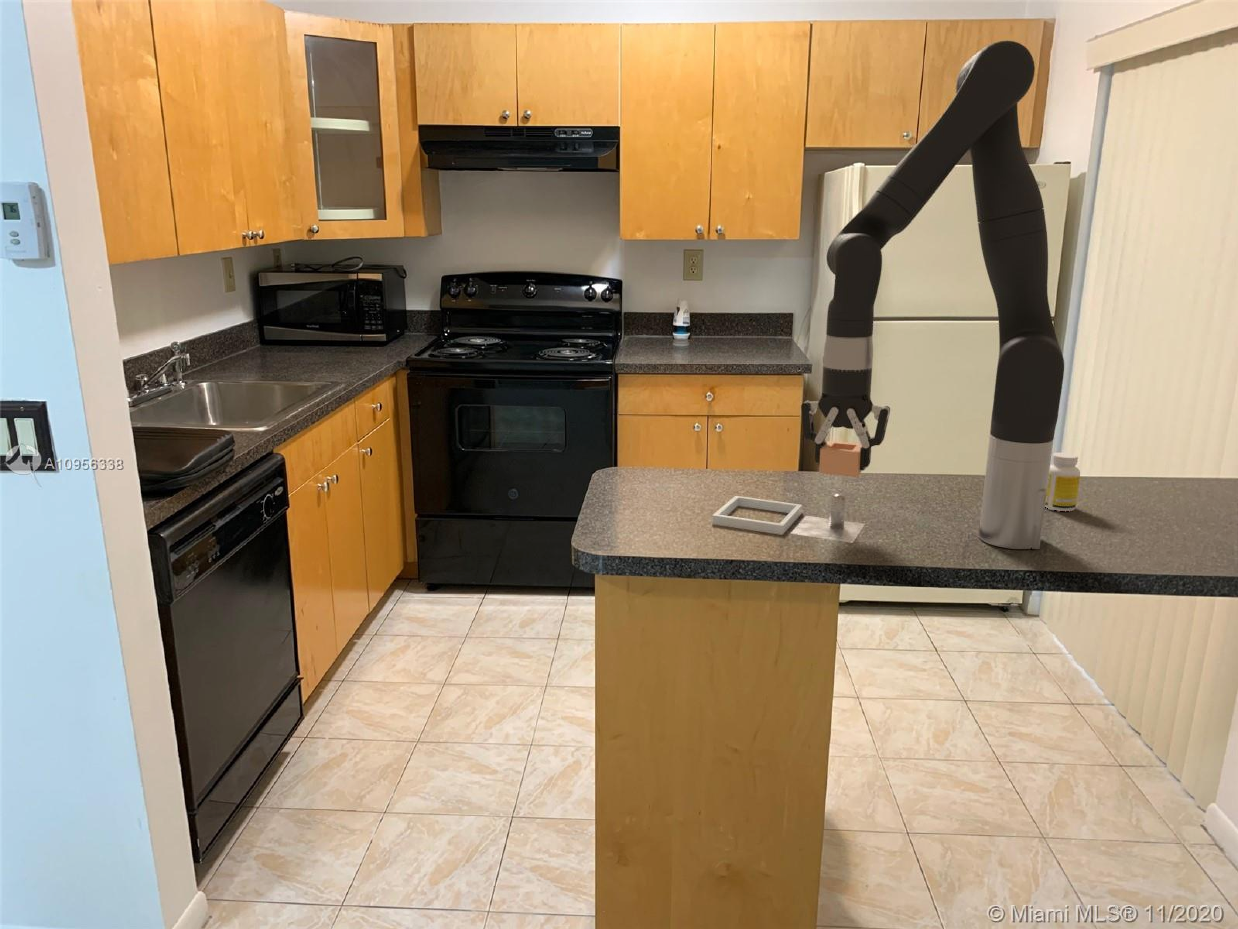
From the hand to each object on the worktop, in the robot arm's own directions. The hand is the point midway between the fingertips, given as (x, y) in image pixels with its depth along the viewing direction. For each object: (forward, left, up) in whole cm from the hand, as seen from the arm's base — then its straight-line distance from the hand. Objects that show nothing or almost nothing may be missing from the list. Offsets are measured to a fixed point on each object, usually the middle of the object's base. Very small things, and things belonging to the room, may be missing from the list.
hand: (841, 466), depth 149 cm
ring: (0, 0, -1) cm, 1 cm away
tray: (+13, +1, -11) cm, 17 cm away
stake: (+1, +1, -11) cm, 11 cm away
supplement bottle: (-33, -31, -12) cm, 46 cm away
